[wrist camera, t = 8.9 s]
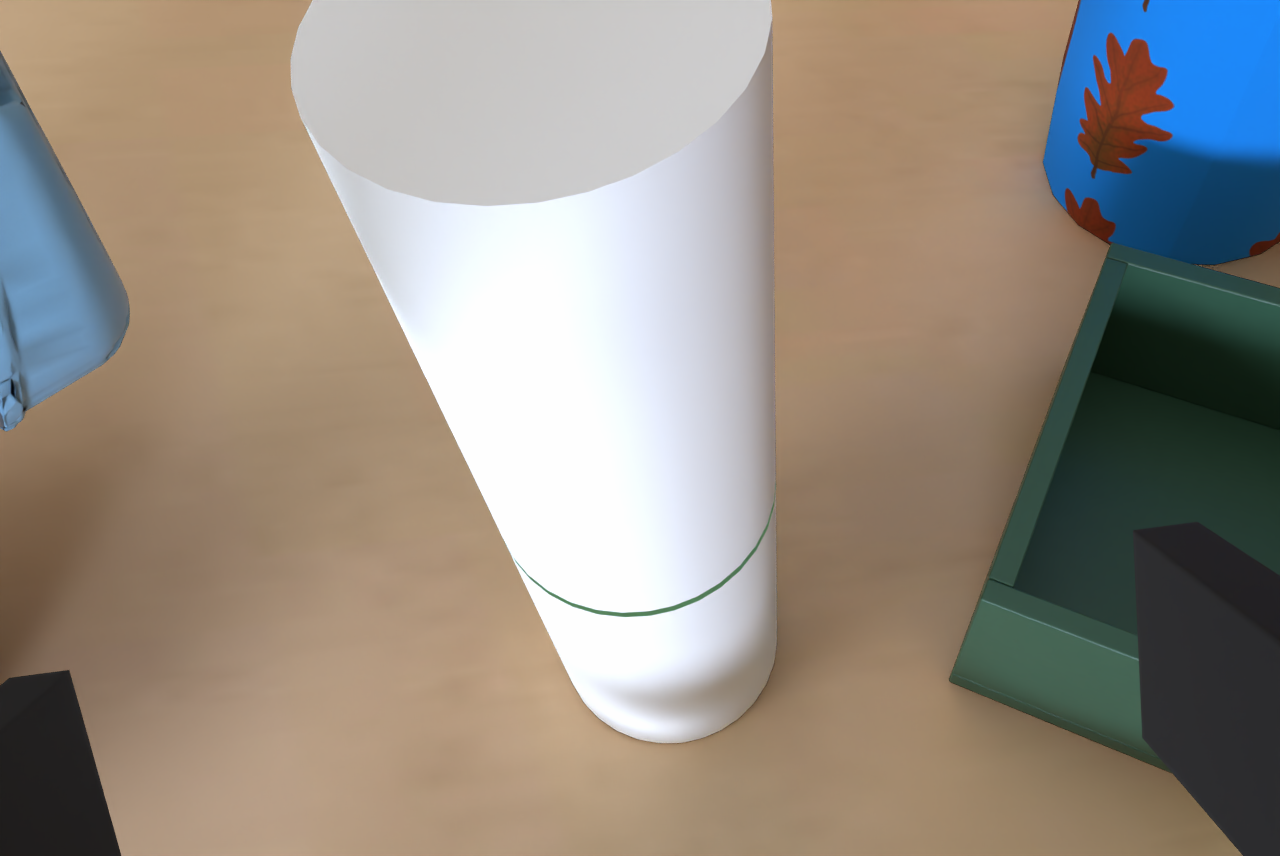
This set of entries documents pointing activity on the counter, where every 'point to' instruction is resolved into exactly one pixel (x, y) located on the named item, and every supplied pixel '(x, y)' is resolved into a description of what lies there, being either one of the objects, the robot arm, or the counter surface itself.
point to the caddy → (1129, 487)
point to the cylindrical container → (585, 307)
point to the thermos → (1171, 126)
